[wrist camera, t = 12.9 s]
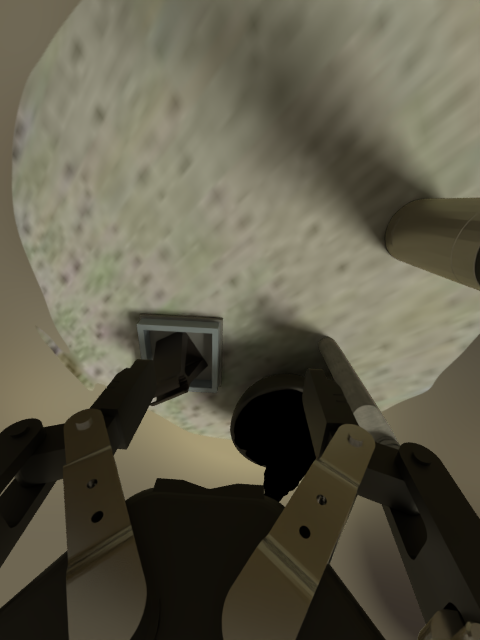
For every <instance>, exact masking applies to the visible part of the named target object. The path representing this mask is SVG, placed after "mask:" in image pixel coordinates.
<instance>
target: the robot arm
mask: <svg viewBox="0 0 480 640" xmlns="http://www.w3.org/2000/svg"><path fill="white" fill-rule="evenodd" d="M385 243H386V247H387V250H388V251H389V253H390V254H391V255H392V256H393V257H394V258H396V259H397V260H400V261H402V262H405V263H407V264H410V265H412V266H415V267H418V268H420V269H423V270H426V271H428V272H431V273H434V274H436V275H439V276H442V277H444V278H447V279H449V280H452V281H455V282H457V283H460V284H463V285H465V286H468V287H471V288H474V289H476V290H479V291H480V198H434V199H419V200H415V201H413V202H410V203H408V204H407V205H405V206H403V207H402V208H401V209H400V210H399V211H397V213H396V214H395V215H394V216H393V217H392V219H391V221H390V223H389V225H388V227H387V230H386V235H385ZM156 387H157V383H156V376H155V368H154V362H153V360H147V359H137V360H136V361H135V362H134V364H133V365H132V366H131V368H125V369H124V370H122V371H121V372H119V373H118V374H117V375H116V376H115V377H114V379H113V380H112V382H110V384H109V385H108V386H107V388H106V389H105V390H104V391H103V392H102V394H101V395H100V396H99V398H98V399H97V400H96V401H95V402H94V404H93V405H92V406H91V407H90V409H85V410H82V411H80V412H78V413H76V414H74V415H73V416H71V417H70V418H69V419H68V420H67V421H66V422H65V423H64V424H59V425H54V426H48V427H43V425H42V422H41V421H40V420H38V419H33V418H32V419H25V420H21V421H19V422H16V423H14V424H12V425H10V426H9V427H7V428H6V429H4V430H3V431H2V432H1V433H0V494H1V492H2V491H3V490H4V489H5V487H6V486H7V485H8V484H9V482H10V481H11V480H12V479H13V477H14V476H15V479H14V480H13V481H12V482H11V484H10V485H9V486H8V488H7V489H6V490H5V491H4V493H3V494H2V495H1V496H0V567H1V566H2V564H3V563H4V561H5V560H6V558H7V557H8V555H9V554H10V552H11V550H12V549H13V547H14V546H15V544H16V543H17V541H18V540H19V538H20V536H21V535H22V533H23V532H24V530H25V529H26V527H27V526H28V524H29V522H30V521H31V520H32V518H33V516H34V515H35V513H36V512H37V510H38V509H39V507H40V506H41V504H42V503H43V501H44V499H45V498H46V496H47V495H48V493H49V492H50V490H51V488H52V487H53V486H54V484H55V482H56V481H57V480H60V479H63V484H64V499H65V501H64V502H65V519H66V534H67V551H66V552H65V553H64V554H63V555H61V556H60V557H59V558H58V559H57V560H56V561H55V562H53V563H52V564H51V565H50V566H49V567H48V568H46V569H45V570H44V571H43V572H42V573H41V574H40V575H39V576H37V577H36V578H35V579H34V580H33V581H32V582H30V583H29V584H28V585H27V586H26V587H25V588H23V589H22V590H21V591H20V592H19V593H18V594H16V595H15V596H14V597H13V598H12V599H11V600H10V601H8V602H7V603H6V604H5V605H4V606H3V607H1V608H0V640H385V638H384V637H383V636H382V634H381V633H380V631H379V630H378V629H377V627H376V626H375V625H374V623H373V622H372V621H371V619H370V618H369V617H368V615H367V614H366V613H365V611H364V610H363V609H362V607H361V606H360V605H359V603H358V602H357V601H356V599H355V598H354V596H353V595H352V594H351V592H350V591H349V590H348V588H347V587H346V586H345V584H344V583H343V582H342V580H341V579H340V578H339V576H338V575H337V574H336V572H335V571H334V569H333V568H332V567H331V566H330V563H331V560H332V558H333V556H334V553H335V551H336V548H337V545H338V543H339V540H340V538H341V535H342V532H343V530H344V527H345V525H346V522H347V520H348V517H349V514H350V512H351V510H352V507H353V505H354V502H355V500H356V497H357V495H360V496H362V497H365V498H367V499H370V500H372V501H375V502H377V503H380V504H382V506H383V509H384V511H385V514H386V517H387V520H388V523H389V525H390V528H391V531H392V534H393V536H394V539H395V542H396V544H397V547H398V550H399V552H400V555H401V558H402V561H403V563H404V566H405V568H406V571H407V574H408V577H409V579H410V582H411V585H412V588H413V590H414V593H415V596H416V598H417V601H418V604H419V607H420V609H421V612H422V615H423V617H424V620H425V623H426V625H425V627H424V628H423V629H422V630H421V631H420V633H419V635H418V639H417V640H480V519H479V517H478V516H477V515H476V513H475V511H474V510H473V509H472V507H471V506H470V504H469V502H468V501H467V500H466V498H465V496H464V495H463V493H462V492H461V490H460V489H459V487H458V486H457V484H456V483H455V481H454V480H453V478H452V477H451V475H450V474H449V472H448V471H447V469H446V468H445V466H444V465H443V463H442V462H441V460H440V459H439V458H438V457H437V456H436V455H435V454H434V453H433V452H432V451H430V450H429V449H427V448H425V447H424V446H422V445H419V444H416V443H409V442H408V443H403V444H402V445H401V446H400V448H399V450H398V449H395V448H392V447H389V446H386V445H383V444H380V443H377V442H375V441H374V439H373V437H372V436H371V434H370V433H369V432H367V431H366V430H365V429H363V428H362V427H359V425H358V423H357V421H356V418H355V416H354V414H353V412H352V410H351V408H350V406H349V404H348V403H347V400H346V397H345V396H344V393H343V391H342V389H341V387H340V386H339V385H338V384H337V383H336V382H335V381H334V380H328V379H327V378H326V376H325V373H324V371H323V370H322V369H307V370H306V375H305V381H304V387H303V394H302V401H303V407H304V411H305V415H306V419H307V423H308V427H309V431H310V435H311V439H312V443H313V447H314V451H315V455H316V459H315V461H314V462H313V464H312V465H311V467H310V468H309V470H308V472H307V473H306V475H305V476H304V478H303V479H302V481H301V483H300V484H299V486H298V488H297V489H296V491H295V492H294V494H293V495H292V497H291V499H290V500H289V502H288V503H287V505H286V507H284V506H283V505H282V504H281V503H279V502H278V501H276V500H274V499H273V498H271V497H269V496H266V495H264V485H249V484H233V485H228V486H223V487H218V488H213V489H206V488H204V487H201V486H198V485H196V484H193V483H190V482H187V481H184V480H176V479H161V478H157V480H156V483H155V485H154V488H150V489H147V490H144V491H141V492H139V493H137V494H135V495H134V496H132V497H130V498H129V499H127V500H126V501H125V498H124V494H123V490H122V486H121V483H120V478H119V475H118V471H117V467H116V463H115V459H114V454H115V452H116V450H117V449H127V448H128V446H129V444H130V442H131V440H132V438H133V436H134V434H135V432H136V430H137V428H138V427H139V425H140V423H141V421H142V419H143V417H144V415H145V413H146V411H147V409H148V407H149V405H150V403H151V401H152V399H153V398H154V395H155V393H156Z"/></svg>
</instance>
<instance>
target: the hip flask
mask: <svg viewBox="0 0 480 640" xmlns="http://www.w3.org/2000/svg"><path fill="white" fill-rule="evenodd" d="M318 347H319V350H320V352H321V354H322V356H323V358H324V360H325V362H326V364H327V366H328V368H329V370H330V372H331V374H332V376H333V378H334V380H335V382H336V383H337V384H338V385H339V386H340V387H341V389H342V391H343V393H344V396H345V397H346V400H347V403H348V404H349V406H350V408H351V410H352V412H353V414H354V416H355V418H356V421H357V423H358V425H359V427H362V428H363V429H365V430H366V431H367V432H369V433H370V434H371V436H372V437H373V439H374V441H375V442H377V443H380V444H383V445H386V446H389V447H392V448H395V449H398V450H399V448H400V445H399V443H398V442H397V439H396V438H395V435H394V433H393V431H392V429H391V427H390V426H389V424H388V422H387V421H386V419H385V418H384V416H383V415H382V413H381V411H380V410H379V408H378V407H377V405H376V403H375V402H374V400H373V399H372V397H371V396H370V394H369V393H368V391H367V389H366V388H365V386H364V385H363V383H362V382H361V380H360V378H359V377H358V375H357V374H356V372H355V371H354V369H353V367H352V366H351V364H350V363H349V361H348V360H347V358H346V357H345V355H344V353H343V352H342V350H341V349H340V347H339V346H338V345H337V343H336V342H335V341H334V340H333V339H332V338H330V337H326V338H323V339H321V340H320V341H319V343H318Z"/></svg>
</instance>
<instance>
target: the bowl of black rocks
mask: <svg viewBox="0 0 480 640" xmlns="http://www.w3.org/2000/svg"><path fill="white" fill-rule="evenodd" d="M304 381H305V377H303V376H299V375H294V374H277V375H272V376H269V377H266V378H264V379H261V380H260V381H258V382H256V383H255V384H253V385H252V386H251V387H250V388H249V389H248V390H247V391H246V392H245V393H244V394H243V395H242V397H241V398H240V400H239V402H238V403H237V405H236V407H235V410H234V412H233V416H232V420H231V426H230V432H231V437H232V441H233V443H234V445H235V447H236V448H237V450H238V451H239V452H240V453H241V454H242V455H243V456H244V457H245V458H247V459H248V460H250V461H251V462H253V463H255V464H258V465H260V466H263V467H266V470H265V473H264V484H263V485H264V491H265V494H264V495H266V496H269V497H271V498H273V499H274V500H276V501H278V502H279V501H281V499H282V498H283V496H285V495H287V494H288V492H289V491H292V490H294V489H295V488H296V487H297V486H298V484H299V481H301V480H302V478H303V477H304V476H305V475H306V473H307V472H308V470H309V468H310V467H311V465H312V464H313V462H314V461H315V459H316V455H315V451H314V447H313V443H312V439H311V435H310V431H309V427H308V423H307V419H306V415H305V411H304V407H303V401H302V394H303V387H304Z"/></svg>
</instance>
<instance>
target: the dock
mask: <svg viewBox="0 0 480 640" xmlns="http://www.w3.org/2000/svg"><path fill="white" fill-rule="evenodd" d="M139 319H140V321H139V322H138V323H137V331H138V338H139V345H140V352H141V359H147V360H153V359H154V352H155V346H156V341H159V340H161V339H163V338H165V337H167V336H169V335H171V334H173V333H175V332H186V333H187V334H188V336H189V337H190V339H191V340H192V342H193V343H194V345H195V346H196V348H197V349H198V350H199V352H200V353H201V355H202V356H203V358H204V359H205V361H206V362H207V364H208V366H207V367H206V368H205V369H204V370H203V371H202V372H201V373H200V374H199V375H198V376H197V377H196V378H195V379H194V380H193V381H192V382H191V383H190V386H189V390H188V391H192V392H210V393H217V391H218V386H219V387H221V377H222V331H223V318H208V317H190V316H171V315H153V314H140V315H139Z"/></svg>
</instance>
